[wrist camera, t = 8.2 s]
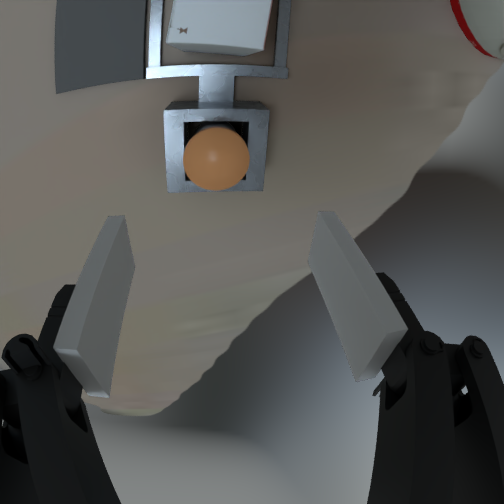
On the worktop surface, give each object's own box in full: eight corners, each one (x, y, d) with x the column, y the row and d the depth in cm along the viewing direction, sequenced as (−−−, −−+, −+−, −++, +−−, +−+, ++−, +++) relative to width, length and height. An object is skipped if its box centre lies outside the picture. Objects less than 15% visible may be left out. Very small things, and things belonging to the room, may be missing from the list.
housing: (295, -99, 11) (310, -119, 7) (274, 170, 29) (285, 191, 25) (167, -103, 9) (161, -125, 5) (154, 172, 27) (144, 193, 23)
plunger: (243, 114, 24) (251, 129, 19) (240, 164, 27) (247, 190, 22) (188, 114, 23) (182, 129, 19) (188, 165, 26) (184, 191, 22)
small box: (244, 57, 22) (265, 54, 14) (181, 52, 21) (163, 46, 13) (258, -19, 17) (286, -58, 9) (195, -25, 16) (187, -69, 8)
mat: (150, -36, 15) (149, -38, 14) (144, 78, 22) (143, 78, 21) (61, -15, 13) (58, -16, 13) (58, 93, 20) (56, 93, 20)
